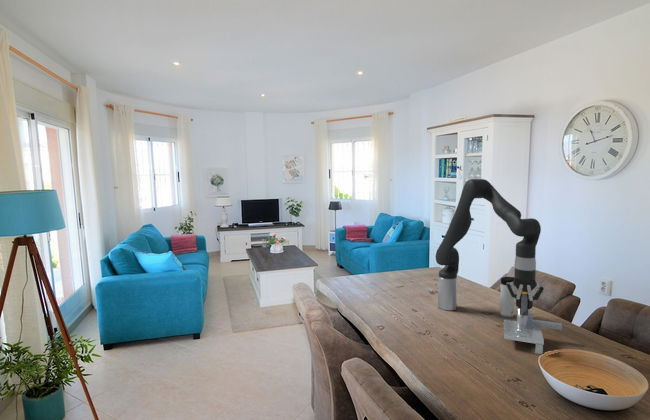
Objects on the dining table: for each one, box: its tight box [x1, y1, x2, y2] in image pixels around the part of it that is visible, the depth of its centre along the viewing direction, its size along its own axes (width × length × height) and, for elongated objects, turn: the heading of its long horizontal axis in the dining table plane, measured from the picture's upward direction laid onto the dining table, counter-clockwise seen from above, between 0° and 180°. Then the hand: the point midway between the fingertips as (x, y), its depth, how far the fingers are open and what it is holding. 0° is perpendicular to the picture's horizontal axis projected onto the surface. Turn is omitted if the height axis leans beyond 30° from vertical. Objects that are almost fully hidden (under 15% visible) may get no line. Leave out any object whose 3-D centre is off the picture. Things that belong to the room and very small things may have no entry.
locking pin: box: [519, 291, 529, 316], centre depth 144 cm, size 3×3×10 cm
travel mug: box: [499, 276, 516, 319], centre depth 178 cm, size 6×7×20 cm
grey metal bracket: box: [503, 306, 563, 355], centre depth 148 cm, size 22×16×14 cm
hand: (524, 307), depth 145 cm, fingers closed on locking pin, 3 cm apart
